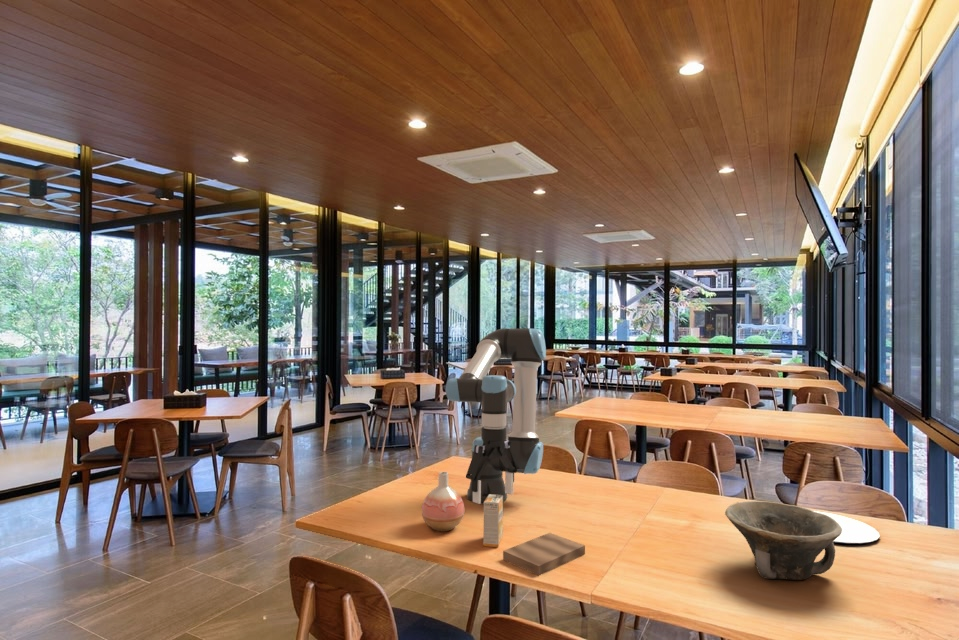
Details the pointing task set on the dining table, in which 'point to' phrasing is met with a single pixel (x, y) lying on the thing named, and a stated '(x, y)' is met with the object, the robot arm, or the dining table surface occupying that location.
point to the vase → (443, 506)
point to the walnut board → (543, 553)
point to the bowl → (786, 538)
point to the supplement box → (493, 520)
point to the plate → (853, 530)
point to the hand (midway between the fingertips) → (493, 498)
